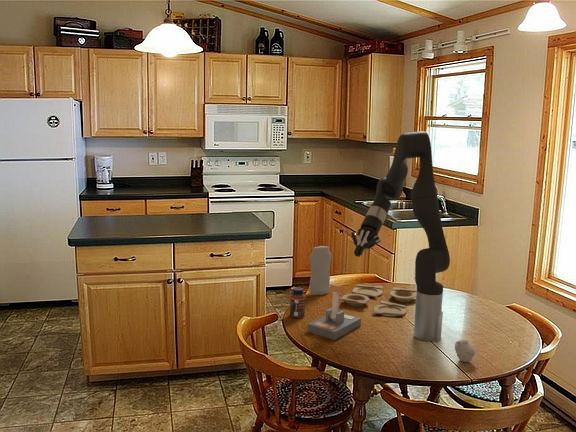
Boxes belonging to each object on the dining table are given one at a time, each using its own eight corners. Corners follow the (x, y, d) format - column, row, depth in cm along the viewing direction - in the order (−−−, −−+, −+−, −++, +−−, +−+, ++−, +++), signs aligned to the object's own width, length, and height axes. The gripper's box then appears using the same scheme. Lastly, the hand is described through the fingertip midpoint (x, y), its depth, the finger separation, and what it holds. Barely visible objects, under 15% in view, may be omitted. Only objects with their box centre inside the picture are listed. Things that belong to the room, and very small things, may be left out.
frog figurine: (462, 355, 188) (464, 335, 186) (478, 363, 182) (480, 343, 180) (449, 358, 185) (450, 338, 183) (465, 367, 179) (466, 346, 177)
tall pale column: (328, 291, 252) (329, 244, 248) (332, 293, 249) (333, 246, 245) (306, 293, 248) (308, 245, 244) (310, 296, 245) (312, 247, 241)
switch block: (360, 325, 212) (361, 308, 210) (334, 340, 198) (335, 321, 196) (334, 318, 219) (335, 301, 218) (307, 331, 205) (307, 313, 204)
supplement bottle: (298, 319, 216) (299, 292, 214) (286, 316, 220) (287, 288, 218) (307, 315, 221) (308, 288, 219) (295, 312, 225) (296, 285, 223)
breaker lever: (341, 320, 207) (342, 285, 205) (337, 322, 206) (338, 286, 203) (332, 318, 210) (333, 282, 207) (328, 319, 208) (329, 284, 206)
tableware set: (359, 286, 262) (359, 278, 261) (421, 296, 249) (422, 287, 248) (331, 308, 231) (332, 299, 230) (401, 321, 218) (402, 311, 217)
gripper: (356, 212, 223) (338, 247, 216) (386, 216, 215) (368, 252, 208) (362, 223, 228) (345, 257, 221) (391, 227, 220) (374, 263, 213)
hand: (356, 255), depth 214 cm, fingers closed
